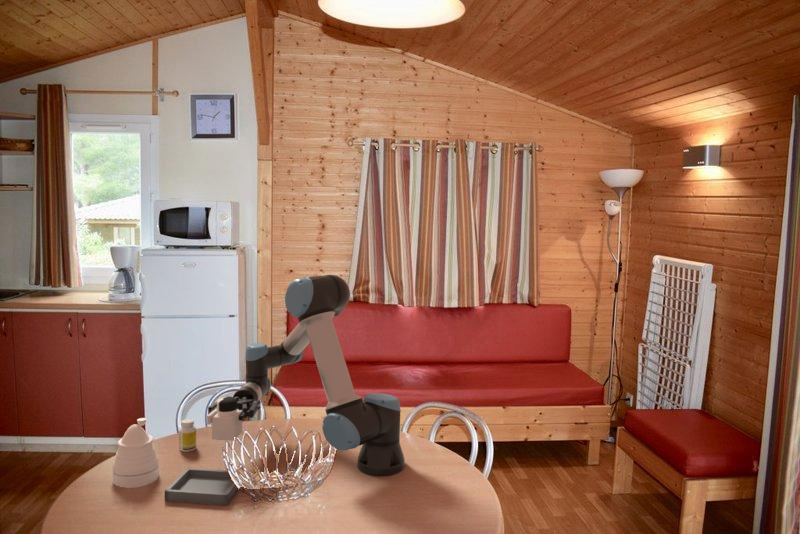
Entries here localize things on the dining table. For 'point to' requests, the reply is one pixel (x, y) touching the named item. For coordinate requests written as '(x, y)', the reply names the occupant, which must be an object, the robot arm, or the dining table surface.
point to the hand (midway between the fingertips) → (220, 421)
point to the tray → (202, 487)
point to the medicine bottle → (225, 420)
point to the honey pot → (135, 458)
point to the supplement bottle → (187, 436)
